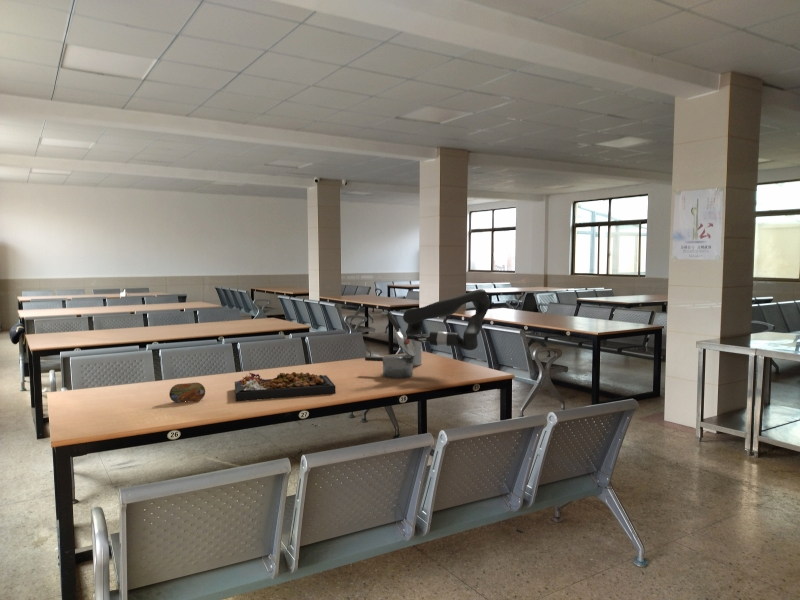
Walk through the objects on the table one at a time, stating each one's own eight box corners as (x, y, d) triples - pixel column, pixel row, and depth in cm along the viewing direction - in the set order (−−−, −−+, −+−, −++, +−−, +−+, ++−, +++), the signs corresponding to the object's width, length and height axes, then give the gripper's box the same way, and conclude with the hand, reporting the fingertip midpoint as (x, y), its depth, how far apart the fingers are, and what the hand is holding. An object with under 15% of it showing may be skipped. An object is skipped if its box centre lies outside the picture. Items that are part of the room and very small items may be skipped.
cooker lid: (416, 355, 314) (421, 352, 313) (408, 360, 298) (413, 357, 297) (390, 313, 316) (395, 310, 315) (380, 316, 300) (385, 313, 299)
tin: (169, 403, 254) (168, 385, 253) (170, 402, 257) (169, 383, 256) (205, 401, 258) (204, 382, 258) (205, 399, 261) (205, 381, 261)
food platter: (235, 402, 257) (235, 380, 256) (235, 390, 280) (234, 369, 280) (335, 394, 270) (335, 373, 269) (326, 383, 293) (326, 363, 292)
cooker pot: (417, 373, 314) (417, 355, 313) (409, 379, 299) (409, 360, 298) (371, 370, 322) (370, 353, 321) (361, 376, 306) (360, 358, 306)
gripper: (442, 330, 307) (410, 328, 312) (436, 333, 294) (404, 331, 299) (441, 343, 308) (410, 342, 312) (436, 347, 295) (403, 345, 300)
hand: (407, 336), depth 306 cm, fingers closed
